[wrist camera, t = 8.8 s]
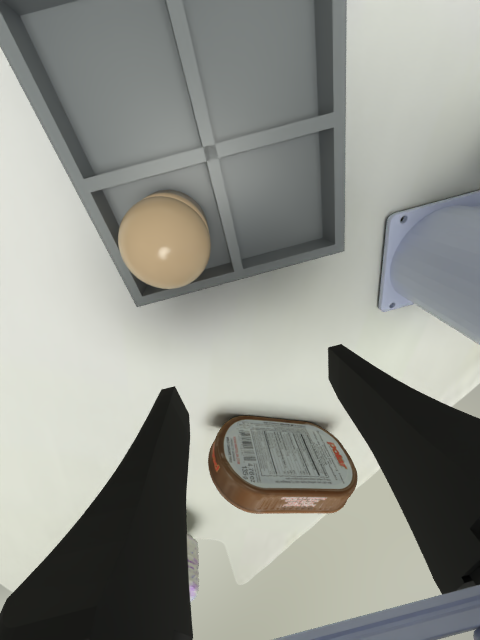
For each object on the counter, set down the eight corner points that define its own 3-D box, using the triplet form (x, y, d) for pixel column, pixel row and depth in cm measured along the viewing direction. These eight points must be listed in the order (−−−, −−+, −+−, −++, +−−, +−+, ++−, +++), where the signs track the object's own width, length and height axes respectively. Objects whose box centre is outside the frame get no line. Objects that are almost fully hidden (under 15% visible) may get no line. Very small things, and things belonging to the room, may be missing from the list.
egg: (196, 181, 14) (195, 189, 9) (216, 254, 17) (223, 290, 12) (121, 200, 14) (82, 218, 9) (152, 270, 17) (134, 314, 12)
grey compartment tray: (320, -82, 10) (347, -135, 9) (329, 242, 18) (344, 251, 16) (1, 3, 10) (-42, -33, 8) (143, 292, 18) (137, 307, 16)
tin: (206, 426, 27) (209, 520, 20) (213, 406, 25) (220, 500, 18) (323, 436, 31) (360, 515, 24) (335, 419, 30) (379, 499, 23)
